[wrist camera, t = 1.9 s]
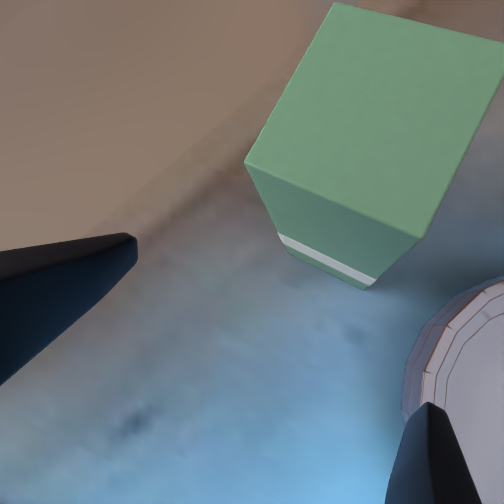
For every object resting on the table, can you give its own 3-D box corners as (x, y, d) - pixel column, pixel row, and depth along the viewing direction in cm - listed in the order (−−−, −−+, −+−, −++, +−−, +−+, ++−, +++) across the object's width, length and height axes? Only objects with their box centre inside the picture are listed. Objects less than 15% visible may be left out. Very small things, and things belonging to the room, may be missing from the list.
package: (364, 291, 21) (423, 241, 8) (287, 253, 22) (240, 162, 10) (406, 208, 21) (522, 44, 9) (328, 176, 23) (334, -2, 10)
